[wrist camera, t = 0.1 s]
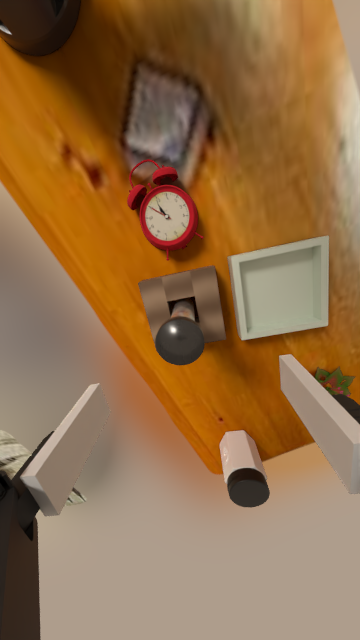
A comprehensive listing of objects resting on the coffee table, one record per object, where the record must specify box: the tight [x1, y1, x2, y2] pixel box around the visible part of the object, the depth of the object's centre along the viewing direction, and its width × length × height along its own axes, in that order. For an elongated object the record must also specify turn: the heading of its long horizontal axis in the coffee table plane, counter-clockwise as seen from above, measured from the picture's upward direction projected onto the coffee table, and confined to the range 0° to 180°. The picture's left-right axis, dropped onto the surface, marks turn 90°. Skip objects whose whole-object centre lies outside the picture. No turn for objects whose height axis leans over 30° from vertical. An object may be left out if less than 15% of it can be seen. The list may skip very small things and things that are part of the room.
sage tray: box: [228, 236, 329, 340], centre depth 38 cm, size 16×16×4 cm
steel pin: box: [155, 298, 205, 365], centre depth 33 cm, size 6×6×18 cm
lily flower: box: [315, 366, 355, 396], centre depth 44 cm, size 12×12×5 cm
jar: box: [219, 430, 270, 507], centre depth 46 cm, size 9×8×12 cm
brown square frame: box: [138, 265, 226, 351], centre depth 40 cm, size 14×14×4 cm
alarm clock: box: [127, 159, 204, 260], centre depth 34 cm, size 10×6×15 cm
